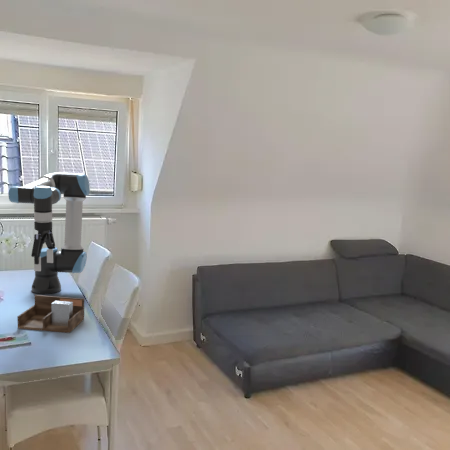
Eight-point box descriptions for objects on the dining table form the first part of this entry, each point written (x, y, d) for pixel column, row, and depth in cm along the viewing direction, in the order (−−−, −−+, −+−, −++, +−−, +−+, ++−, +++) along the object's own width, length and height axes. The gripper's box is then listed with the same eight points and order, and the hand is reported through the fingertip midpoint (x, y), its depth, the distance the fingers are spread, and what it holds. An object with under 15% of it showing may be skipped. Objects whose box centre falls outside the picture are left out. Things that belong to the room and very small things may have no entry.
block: (55, 321, 220) (55, 300, 219) (72, 323, 220) (72, 301, 218) (51, 324, 217) (51, 303, 215) (69, 326, 216) (69, 304, 214)
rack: (35, 315, 230) (35, 294, 228) (84, 319, 228) (84, 298, 226) (17, 328, 213) (17, 306, 212) (69, 332, 211) (69, 310, 210)
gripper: (46, 215, 231) (47, 259, 235) (22, 225, 207) (23, 273, 211) (62, 216, 231) (62, 260, 235) (39, 226, 206) (40, 275, 211)
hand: (44, 266), depth 223 cm, fingers open, 13 cm apart
